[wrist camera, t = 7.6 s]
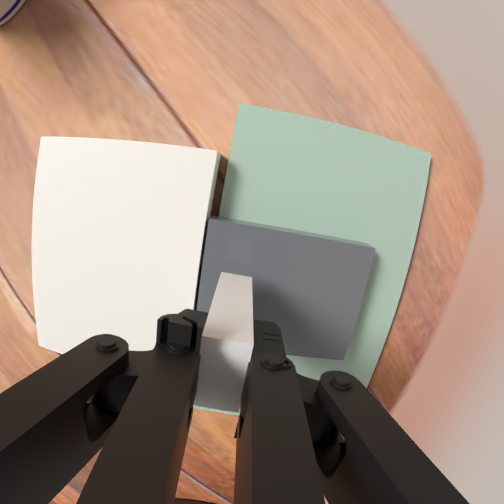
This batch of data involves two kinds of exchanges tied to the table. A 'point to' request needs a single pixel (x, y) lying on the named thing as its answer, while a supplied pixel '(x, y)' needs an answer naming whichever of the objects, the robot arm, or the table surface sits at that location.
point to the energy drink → (9, 9)
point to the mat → (332, 208)
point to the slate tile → (292, 281)
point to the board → (117, 237)
